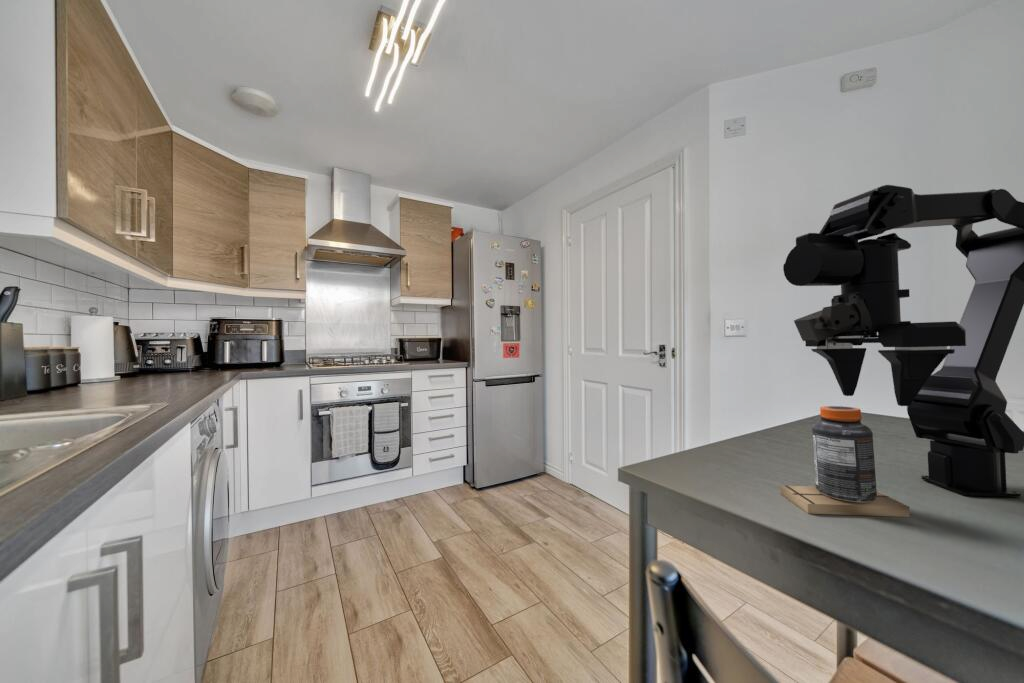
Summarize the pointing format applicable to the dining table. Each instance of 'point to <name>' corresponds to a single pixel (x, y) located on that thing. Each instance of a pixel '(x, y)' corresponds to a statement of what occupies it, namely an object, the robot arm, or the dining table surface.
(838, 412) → the pill bottle
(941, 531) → the dining table surface
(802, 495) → the oak board
